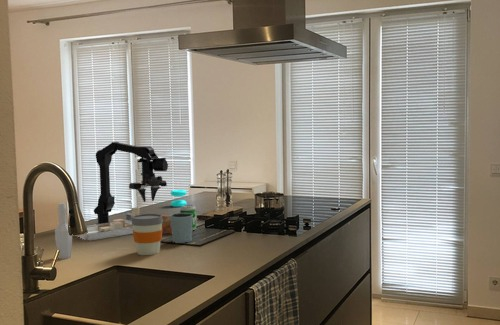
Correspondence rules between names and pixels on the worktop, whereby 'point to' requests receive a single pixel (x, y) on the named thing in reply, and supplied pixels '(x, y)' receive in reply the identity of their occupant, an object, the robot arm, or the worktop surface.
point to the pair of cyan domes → (177, 194)
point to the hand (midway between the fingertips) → (148, 201)
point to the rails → (109, 231)
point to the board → (111, 229)
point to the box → (90, 230)
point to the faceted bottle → (63, 233)
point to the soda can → (191, 210)
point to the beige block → (116, 225)
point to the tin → (166, 225)
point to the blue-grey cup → (181, 227)
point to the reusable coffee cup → (147, 233)
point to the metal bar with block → (133, 213)
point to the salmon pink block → (120, 221)
